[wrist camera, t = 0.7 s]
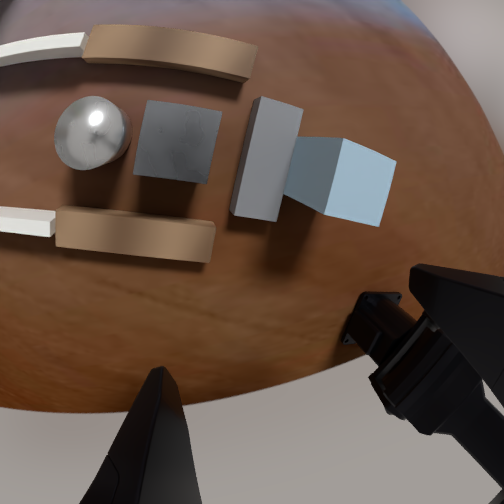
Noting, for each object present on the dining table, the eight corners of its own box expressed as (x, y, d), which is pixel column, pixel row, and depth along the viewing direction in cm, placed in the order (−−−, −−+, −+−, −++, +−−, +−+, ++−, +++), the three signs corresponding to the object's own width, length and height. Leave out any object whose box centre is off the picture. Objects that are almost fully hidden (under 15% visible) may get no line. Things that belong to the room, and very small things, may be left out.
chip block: (211, 118, 16) (222, 111, 13) (199, 175, 18) (206, 184, 14) (152, 109, 15) (147, 100, 12) (141, 168, 16) (133, 174, 13)
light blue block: (338, 127, 19) (403, 130, 13) (314, 223, 22) (368, 258, 15) (254, 99, 17) (298, 80, 10) (229, 209, 19) (259, 244, 13)
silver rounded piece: (138, 107, 15) (129, 98, 11) (126, 166, 16) (115, 172, 12) (83, 104, 13) (62, 95, 10) (73, 162, 15) (50, 168, 11)
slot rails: (251, 52, 15) (258, 46, 14) (206, 254, 20) (209, 262, 19) (98, 32, 11) (93, 24, 10) (62, 238, 16) (55, 246, 15)
